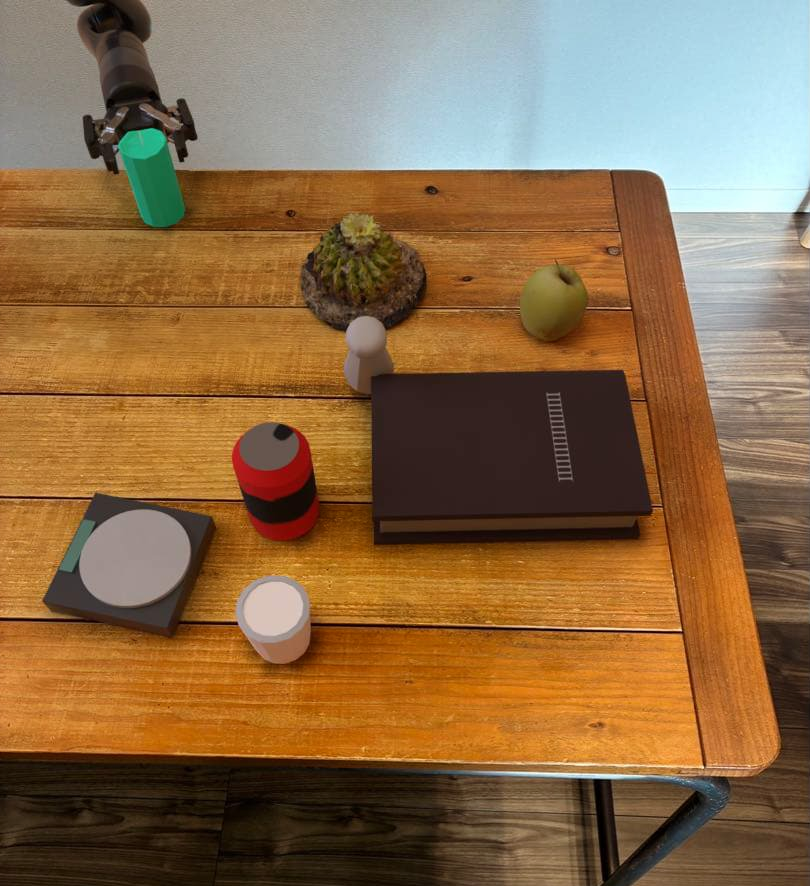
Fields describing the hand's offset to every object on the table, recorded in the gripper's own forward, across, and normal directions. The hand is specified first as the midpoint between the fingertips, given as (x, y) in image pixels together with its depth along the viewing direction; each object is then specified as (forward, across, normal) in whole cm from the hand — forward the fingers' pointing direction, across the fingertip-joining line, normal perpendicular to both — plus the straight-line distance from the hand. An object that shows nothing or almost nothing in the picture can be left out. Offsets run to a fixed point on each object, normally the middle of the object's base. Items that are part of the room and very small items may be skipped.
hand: (147, 162), depth 106 cm
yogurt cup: (+66, +1, +7) cm, 67 cm away
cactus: (+22, +22, +7) cm, 32 cm away
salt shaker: (+38, +19, +6) cm, 42 cm away
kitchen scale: (+54, -11, +7) cm, 56 cm away
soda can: (+52, +5, +7) cm, 53 cm away
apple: (+36, +42, +7) cm, 56 cm away
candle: (+1, 0, +7) cm, 7 cm away
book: (+54, +29, +7) cm, 61 cm away
